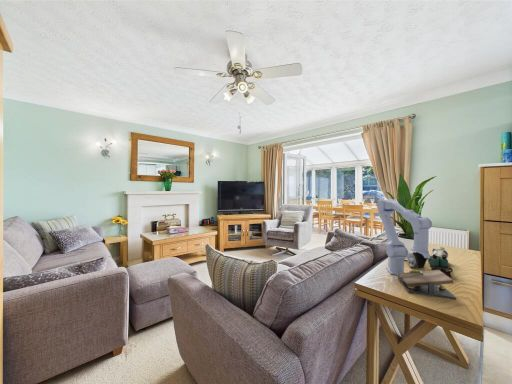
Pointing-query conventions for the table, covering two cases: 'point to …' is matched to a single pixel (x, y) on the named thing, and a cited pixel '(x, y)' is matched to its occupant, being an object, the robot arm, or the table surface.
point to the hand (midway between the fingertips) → (420, 267)
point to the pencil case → (438, 253)
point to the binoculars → (440, 264)
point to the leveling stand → (429, 290)
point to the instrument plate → (425, 278)
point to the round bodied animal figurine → (411, 259)
